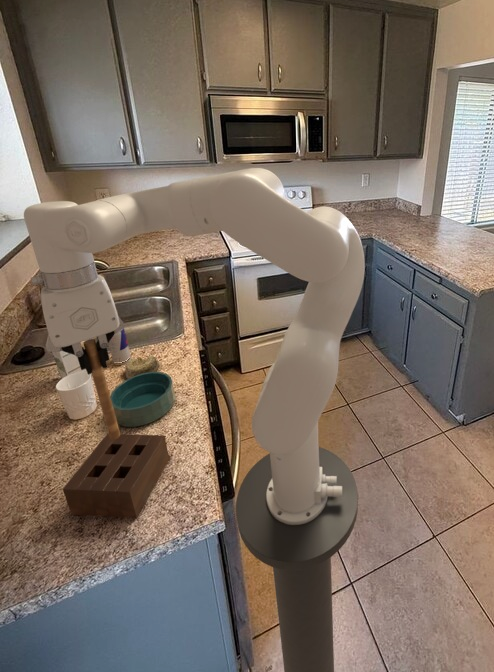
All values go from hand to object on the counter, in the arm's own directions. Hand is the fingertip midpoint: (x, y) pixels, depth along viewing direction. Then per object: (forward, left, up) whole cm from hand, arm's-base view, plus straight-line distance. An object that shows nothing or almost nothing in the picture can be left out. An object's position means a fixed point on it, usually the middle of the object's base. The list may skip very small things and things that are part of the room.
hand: (96, 367), depth 66 cm
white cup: (+27, -22, -31) cm, 47 cm away
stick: (0, 0, -17) cm, 17 cm away
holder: (+2, -1, -31) cm, 31 cm away
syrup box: (+39, -35, -31) cm, 61 cm away
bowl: (+10, -24, -31) cm, 40 cm away
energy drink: (+30, -45, -31) cm, 62 cm away
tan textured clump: (+20, -40, -31) cm, 54 cm away
